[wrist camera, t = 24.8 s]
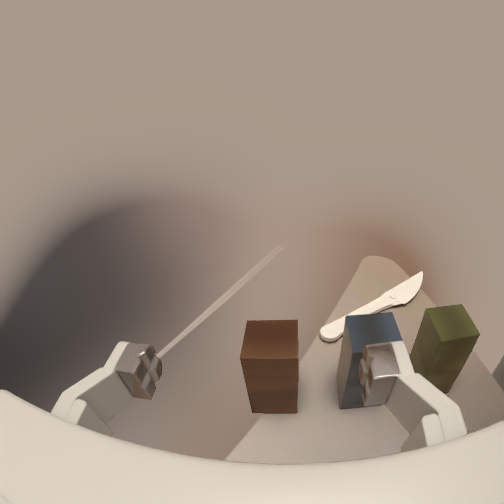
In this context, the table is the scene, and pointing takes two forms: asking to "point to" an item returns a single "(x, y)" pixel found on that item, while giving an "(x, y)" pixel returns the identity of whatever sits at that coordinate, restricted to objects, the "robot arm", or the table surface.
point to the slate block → (360, 352)
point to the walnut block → (271, 365)
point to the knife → (376, 306)
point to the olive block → (443, 345)
